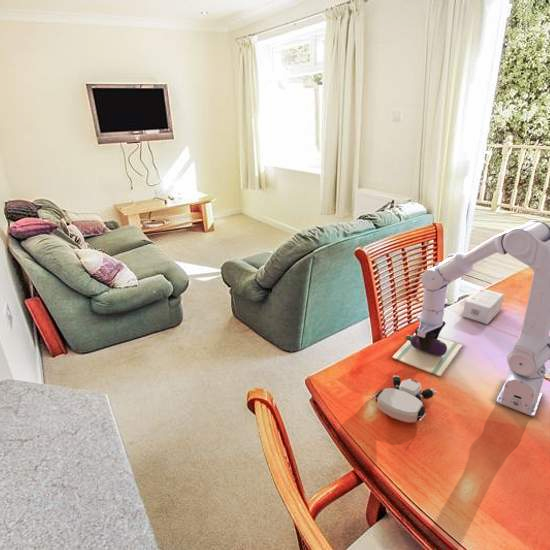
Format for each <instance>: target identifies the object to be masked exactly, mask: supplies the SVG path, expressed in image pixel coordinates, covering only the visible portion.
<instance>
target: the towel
mask: <svg viewBox="0 0 550 550" xmlns="http://www.w3.org/2000/svg"><path fill="white" fill-rule="evenodd" d="M414 334H416V333H415V332H414V333H413V334H412V336H413V335H414ZM437 340H440V341H443V342H444V343H445V344H446V346H447V352H446V353H445V354H444V355H442V356H436V355H433V354H430V353H428V352H425V351H422V350H419V349H416V348H414V347H413V346H412V345H411V342H410V341H408V340H406V342H405V343H404V344H402V346H401V347H400V348H399V349H398V350H397V351H396V352H395V353H394V354H393V356H392V357H391V358H392V359H393V360H396V361H398V362H400V363H403V364H406V365H409V366H411V367H414V368H416V369H418V370H422V371H424V372H427V373H429V374H431V375H434V376H437V377H440V378H441V376H442V375H443V373H445V371H446V369H447V368H448V367H449V365H450V363H451V362H452V361H453V360H454V359H455V357H456V355H457V354H458V353H459V351H460V350H461V349H462V347H463V344H460V343H457V342H454V341H450V340H448V339H445V338H442V337H439V336H438V338H437Z"/></svg>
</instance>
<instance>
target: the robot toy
mask: <svg viewBox="0 0 550 550" xmlns="http://www.w3.org/2000/svg"><path fill="white" fill-rule="evenodd" d="M392 384H393V387H394V388H393V387H386V388H384V389H381V390H379V391H378V392H377V393H375V394H373V396H371V397H369V400H370V401H371V400H373V399H374V398H375V403H376V407H377V408H378V409H379V410H380V411H381V412H382V413H383V414H385V415H387V416H389V417H390V418H392V419H395V420H398V421H400V422H404V423H409V424H410V423H416V422H417V421H418V422H422V420H423V419H424V418H426V416H427V413H426V407H425V406H424V403H423V402H422V399H424V400H428V399H431V398H433V396H435V395H436V394H437V390H435V389H434V388H426V389H424V390H422V386H421V382H419V381H417V380H414V379H412V378H408V379H404V380H402V381H401V378H400V376H399V375H395V374H394V375H392Z"/></svg>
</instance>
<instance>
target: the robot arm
mask: <svg viewBox="0 0 550 550" xmlns="http://www.w3.org/2000/svg"><path fill="white" fill-rule="evenodd" d="M497 253H498V254H500V255H503V256H505V255H507V254H508V255H509V256H511V257H513V258H514V259H516V260H518V261H520V262H521V263H523V264H525V265H526V266H528V267H529V268H530V269H531V270H532V271H533V276H532V280H531V285H530V290H529V294H528V300H527V304H526V308H525V313H524V317H523V323H522V326H521V331H520V334H519V336H518V338H517V340H516V341H515V343H514V347H513V348H512V349H513V350H512V351H510V352H509V354H508V355H507V358H506V362H507V364H508V365H507V366H508V369H507V373H506V377H505V381H504V384H503V386H502V388H501V390H500V392H499V394H498V396H497V397H496V403H498V404H499V405H503V406H505V407H507V408H510V409H512V410H515V411H517V412H520V413H523V414H525V415H527V416H530V417H535V416H536V413H537V410H538V407H539V404H540V401H541V400H542V399H541V398H542V394H543V393H542V392H541V390H542V386H543V383H544V379H545V375H546V372H547V371H546V365H545V364H546V363H547V362H548V361H549V360H550V225H549V224H548V223H547V222H546V221H543V220H540V219H539V220H538V219H534V220H533V219H532V220H530V221H527V222H525V223H524V224H523V225H518V226H516V227H514V228H510V229H507V230H505V231H503V232H501V233H499V234H497V235H495V236H493V237H491V238H489V239H488V240H486V241H484V242H483V243H481V244H480V245H478V246H476V247H475V248H473V249H471V250H470V251H468V252H466V253H464V252H457V253H455V252H452V253H450V254H449V255H447V258H446V259H444V260H443V261H442V262H440V261H438V262H436V263H435V264H434V267H431V268H429V269H426V270H425V271H424V272H423V273H422V274H421V276H420V277H421V278H420V281H421V284H422V286H423V294H422V295H423V297H422V305H421V314H418V315H417V316H416V320H418V321H419V326H417V327H416V328H415V329H414V333H416V335H417V337H418V339H419V343H420V348H421V350H422V351H425V352H428V351H429V349H430V347H431V343H432V341H433V339H437V338H438V337H439V335H440V333H441V331H442V330H443V328H444V327H445V326H446V324H447V323H446V322H445V321H444V315H445V303H446V296H447V290H448V286H449V284H450V283H452V282H453V281H457V280H458V279H460V278H462V277H464V276H466V275H468V274H469V273H472V271H473V268H474V265H475V264H477V263H478V262H479V263H480V262H481V261H482V260H485V259H487V258H489V257H490V256H493V255H494V254H497Z"/></svg>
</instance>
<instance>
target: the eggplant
mask: <svg viewBox="0 0 550 550" xmlns="http://www.w3.org/2000/svg"><path fill="white" fill-rule="evenodd" d="M413 334H414V333H413ZM413 334H412V335H410V334H406V337H405V340H406V341H410V342H411V345H412V346H413V347H414V348H416V349H419V350H421V348H420V343H419V339H418V337H417V335H416V334H414V335H413ZM446 352H447V346H446V344H445V343H444V342H443V341H440V340H437V339H433V341H432V343H431V347H430V349H429V351H428V353H430V354H433V355H436V356H442V355H444V354H445V353H446Z"/></svg>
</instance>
